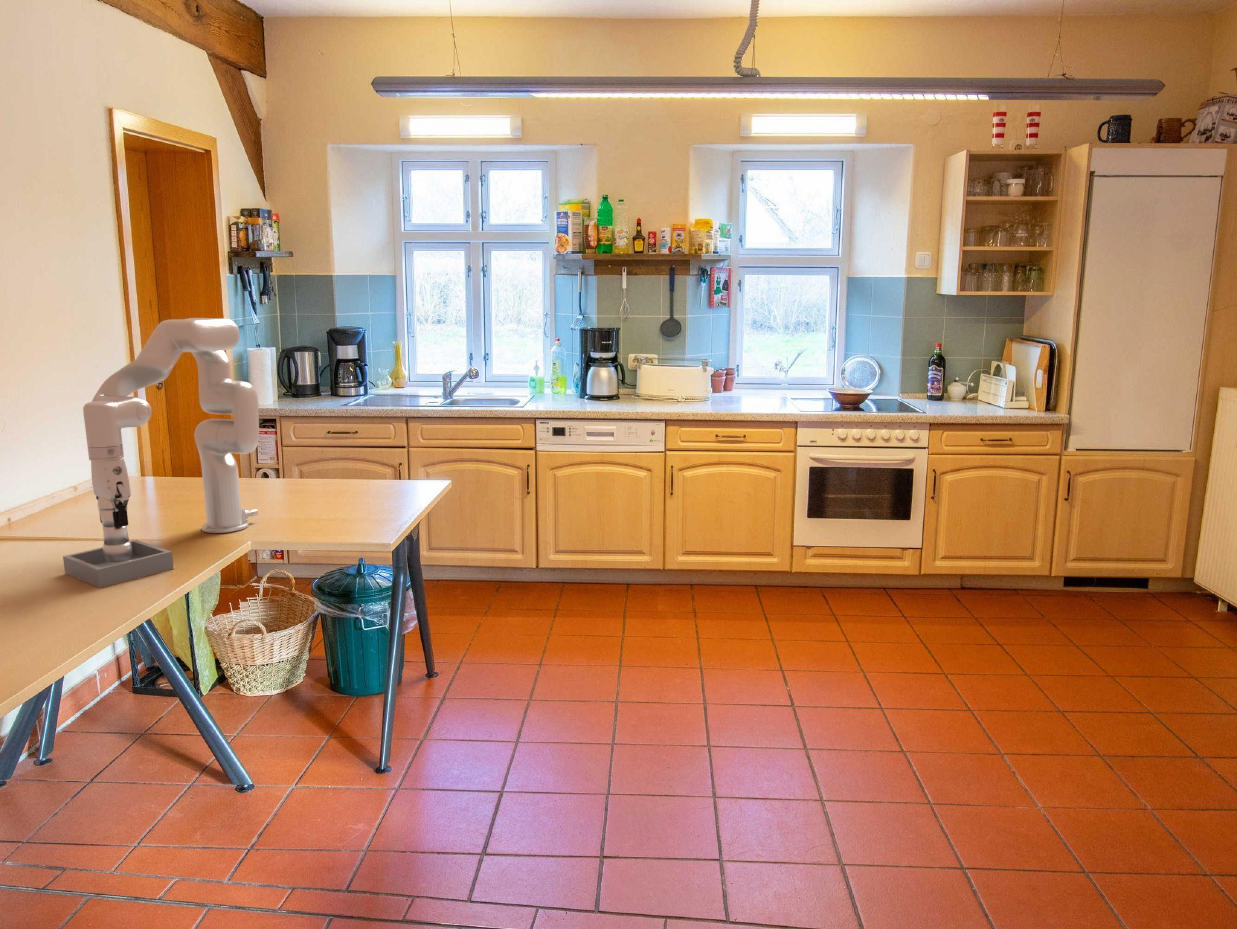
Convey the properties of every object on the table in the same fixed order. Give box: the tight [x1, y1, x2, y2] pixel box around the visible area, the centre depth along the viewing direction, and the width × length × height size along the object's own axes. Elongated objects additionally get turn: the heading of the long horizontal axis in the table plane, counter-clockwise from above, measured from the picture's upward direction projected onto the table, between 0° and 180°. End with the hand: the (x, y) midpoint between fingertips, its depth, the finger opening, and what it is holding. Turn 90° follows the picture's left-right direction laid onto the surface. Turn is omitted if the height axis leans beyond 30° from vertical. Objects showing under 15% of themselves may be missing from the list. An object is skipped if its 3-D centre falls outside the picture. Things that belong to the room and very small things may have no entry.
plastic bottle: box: [97, 496, 132, 562], centre depth 239 cm, size 6×7×20 cm
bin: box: [62, 539, 175, 589], centre depth 241 cm, size 18×18×4 cm
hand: (114, 523), depth 239 cm, fingers closed on plastic bottle, 6 cm apart
